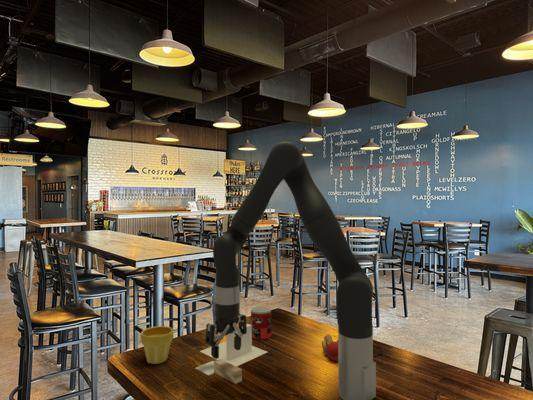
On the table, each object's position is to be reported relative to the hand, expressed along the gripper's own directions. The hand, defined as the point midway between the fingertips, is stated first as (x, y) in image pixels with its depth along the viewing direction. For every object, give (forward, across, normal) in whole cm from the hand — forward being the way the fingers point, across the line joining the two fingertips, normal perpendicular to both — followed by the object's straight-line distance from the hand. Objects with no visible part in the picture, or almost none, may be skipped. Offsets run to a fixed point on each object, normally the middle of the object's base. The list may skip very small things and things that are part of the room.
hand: (226, 353), depth 110 cm
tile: (+7, +13, +9) cm, 17 cm away
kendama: (+7, +37, -13) cm, 40 cm away
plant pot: (+8, -8, +26) cm, 29 cm away
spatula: (+8, 0, +3) cm, 8 cm away
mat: (+8, +13, +12) cm, 19 cm away
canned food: (+8, +30, +15) cm, 34 cm away
